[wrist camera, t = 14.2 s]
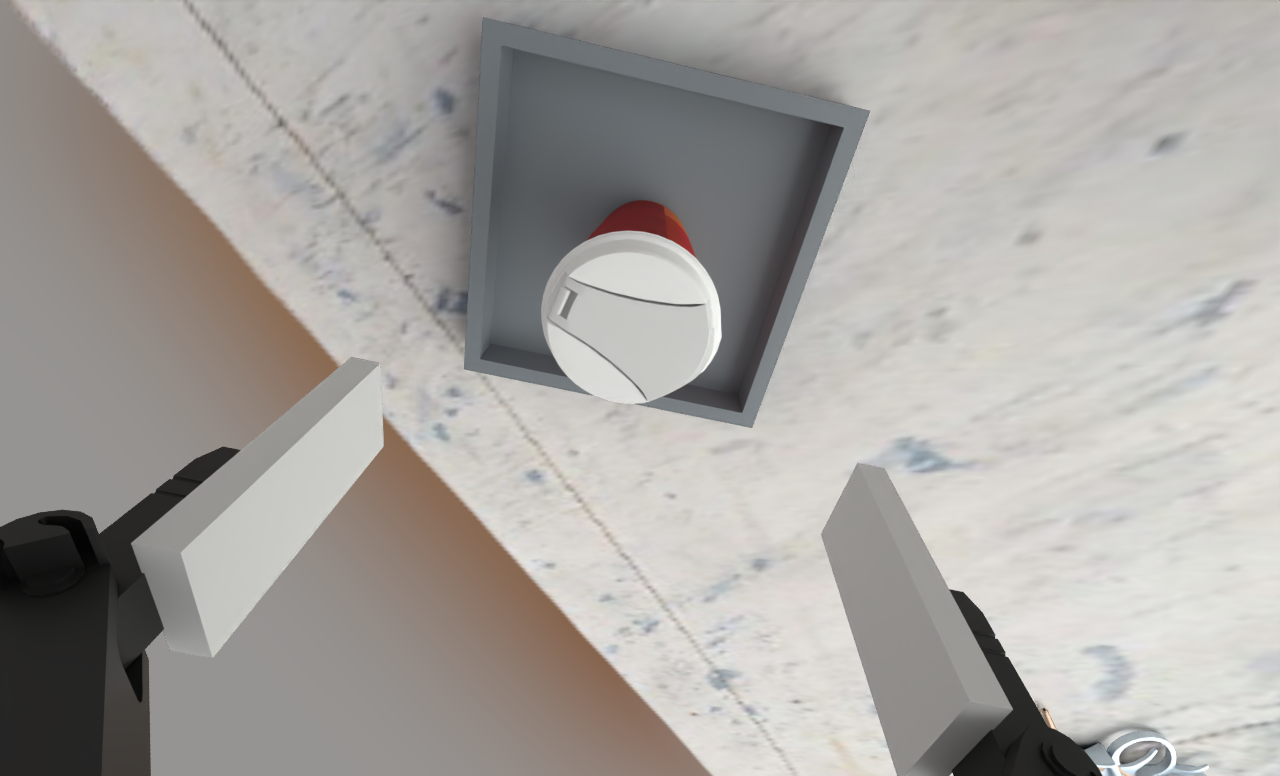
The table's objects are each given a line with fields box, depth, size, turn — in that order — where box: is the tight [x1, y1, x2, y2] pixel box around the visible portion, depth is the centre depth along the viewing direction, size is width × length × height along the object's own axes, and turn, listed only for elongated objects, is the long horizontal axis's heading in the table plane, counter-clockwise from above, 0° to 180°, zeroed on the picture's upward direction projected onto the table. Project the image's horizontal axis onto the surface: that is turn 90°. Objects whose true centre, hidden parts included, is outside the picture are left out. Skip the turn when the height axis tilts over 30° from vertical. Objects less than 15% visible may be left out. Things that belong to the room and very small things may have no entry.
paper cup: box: [541, 200, 722, 404], centre depth 28 cm, size 8×8×14 cm
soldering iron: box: [1041, 708, 1209, 776], centre depth 59 cm, size 6×28×16 cm
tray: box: [464, 17, 870, 428], centre depth 34 cm, size 20×20×4 cm
